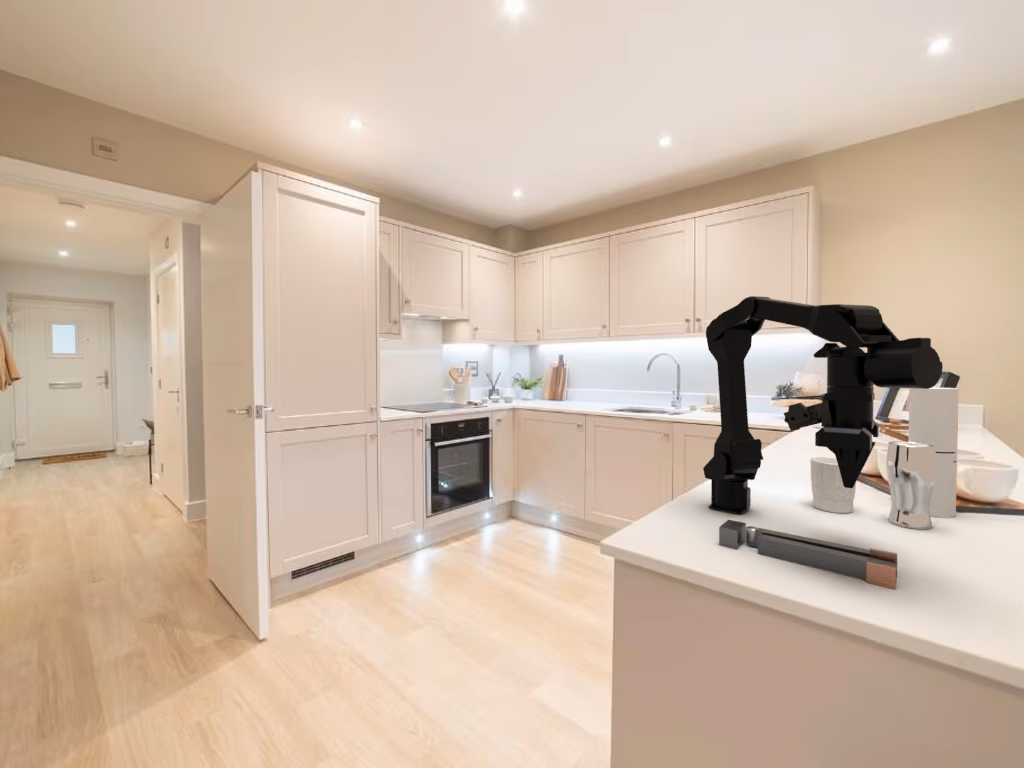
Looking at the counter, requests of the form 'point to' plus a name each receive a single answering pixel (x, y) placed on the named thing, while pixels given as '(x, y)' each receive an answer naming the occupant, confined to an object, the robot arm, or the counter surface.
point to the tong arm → (819, 544)
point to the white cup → (830, 486)
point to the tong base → (813, 555)
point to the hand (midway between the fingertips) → (848, 487)
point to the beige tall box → (937, 441)
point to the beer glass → (911, 483)
